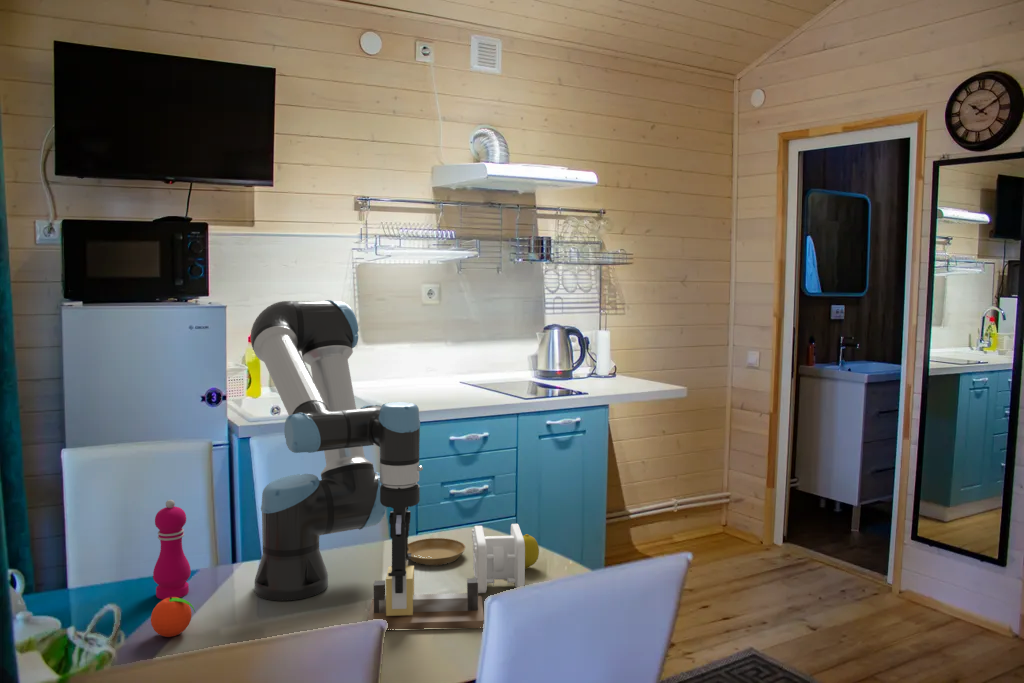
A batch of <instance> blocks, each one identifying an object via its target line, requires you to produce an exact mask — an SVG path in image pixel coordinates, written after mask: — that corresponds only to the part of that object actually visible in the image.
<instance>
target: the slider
mask: <svg viewBox="0 0 1024 683" xmlns="http://www.w3.org/2000/svg"><path fill="white" fill-rule="evenodd" d="M391 572H392V565H390V566H389V565H388V567H387V572H386V576H385V577H386V578H385V595H386V616H396V615H413V595H415V565H408V566H406V574H407V608H406V609H392V576H388V573H391Z"/></svg>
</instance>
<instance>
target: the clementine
mask: <svg viewBox="0 0 1024 683" xmlns="http://www.w3.org/2000/svg"><path fill="white" fill-rule="evenodd" d="M191 608H192V609H193V611H194V612H196V611H195V608H194V606H193V604H192V603H191V602H190V601H188V600H186V599H185V598H182V597H180V598H178V597H169V598H166V599H164V600H163V599H161V600H160V601H159V602H158V603H157V604H156V605H155V607H154V608H153V610H152V612H151V614H150V615H151V616H150V625H151V627H152V629H153V631H154V632H155V633H156V634H157V635H160V636H162V637H164V638H165V637H166V638H172V637H177V636H179V635H180V634H182V633H183V632H185V630H186V629H187V628H188V627H189V626H190V623H191V620H192V614H193V613H192V609H191Z"/></svg>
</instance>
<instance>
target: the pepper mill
mask: <svg viewBox="0 0 1024 683" xmlns="http://www.w3.org/2000/svg"><path fill="white" fill-rule="evenodd" d="M175 505H176V503H175V500H173V499H168V500H167V501H166V502H165V507H163V508H162V509H160V510H158V512H157V513H156V514H155V517H154V525H155V527H156V528H157V529H158V531H157V534H158V536H157V539H158V540H159V541H160V551H159V555H158V558H157V560H156V562H155V564H154V567H153V572H152V573H153V574H152V578H153V581H154V583H156V584H157V586H155V596H156V598H157V599H159V600H164V599H166V598H169V597H178V598H183V597H185V596H186V595H188V594H189V591H190V587H189V586H190V585H189V582H188V579H190V577H191V573H192V571H191V570H192V569H191V565H190V563H189V561H188V559H187V557H186V554H185V553H184V549H183V537H185V529H184V526H185V525H186V522H187V515H186V512H185V511H184V509H183V508H181V507H179V506H175Z"/></svg>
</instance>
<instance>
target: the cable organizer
mask: <svg viewBox="0 0 1024 683" xmlns="http://www.w3.org/2000/svg"><path fill="white" fill-rule="evenodd" d="M523 536H524V535H523V533H522V531H521V528H520V525H519V524H518V523H511V525H510V535H491V536H490V535H489V536H487V535H485V531H484V526H483V525H474V526H473V528H471V539H472V553H473V554H472V557H473V563H472V564H473V565H472V566H473V568H472V569H473V575H474V578H478V594H486V593H487V588H488V584H492V585H493V586H492V587H494V586H495V580H506V582H507V585H509V583H512V584H513V583H514V585H515V589H516V588H517V587H520V586H524V585H526V584H525V583H526V580H525V578H526V577H525V576H526V575H525V574H526V571H525V570H526V568H525V543H524V538H523ZM524 587H525V586H524Z"/></svg>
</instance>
